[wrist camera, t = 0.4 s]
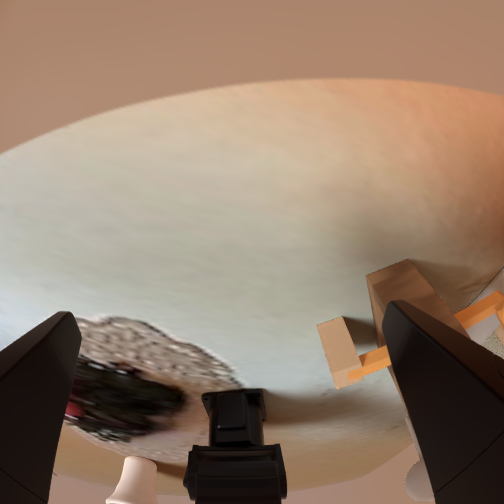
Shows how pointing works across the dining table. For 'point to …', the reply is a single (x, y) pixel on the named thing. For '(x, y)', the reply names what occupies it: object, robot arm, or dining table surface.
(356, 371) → the rail
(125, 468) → the cup
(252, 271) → the dining table surface
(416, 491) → the lollipop
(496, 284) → the mat
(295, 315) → the dining table surface
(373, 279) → the brown rectangular frame
